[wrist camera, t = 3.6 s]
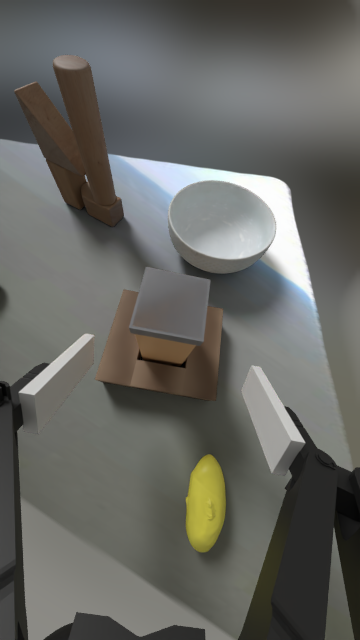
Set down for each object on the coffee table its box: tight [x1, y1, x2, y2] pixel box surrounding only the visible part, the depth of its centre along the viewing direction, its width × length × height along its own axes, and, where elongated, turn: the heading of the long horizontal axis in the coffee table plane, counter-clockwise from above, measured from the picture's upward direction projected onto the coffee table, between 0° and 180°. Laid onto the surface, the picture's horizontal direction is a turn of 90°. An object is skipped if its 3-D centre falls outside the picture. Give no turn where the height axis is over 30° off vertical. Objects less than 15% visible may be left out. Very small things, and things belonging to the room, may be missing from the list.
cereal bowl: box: [168, 180, 276, 274], centre depth 33 cm, size 17×17×7 cm
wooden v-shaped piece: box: [14, 55, 124, 227], centre depth 28 cm, size 4×11×18 cm, turn 61°
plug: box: [129, 267, 210, 367], centre depth 21 cm, size 5×5×14 cm
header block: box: [95, 290, 223, 401], centre depth 26 cm, size 14×12×4 cm
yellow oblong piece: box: [186, 454, 226, 552], centre depth 20 cm, size 4×8×4 cm, turn 165°
